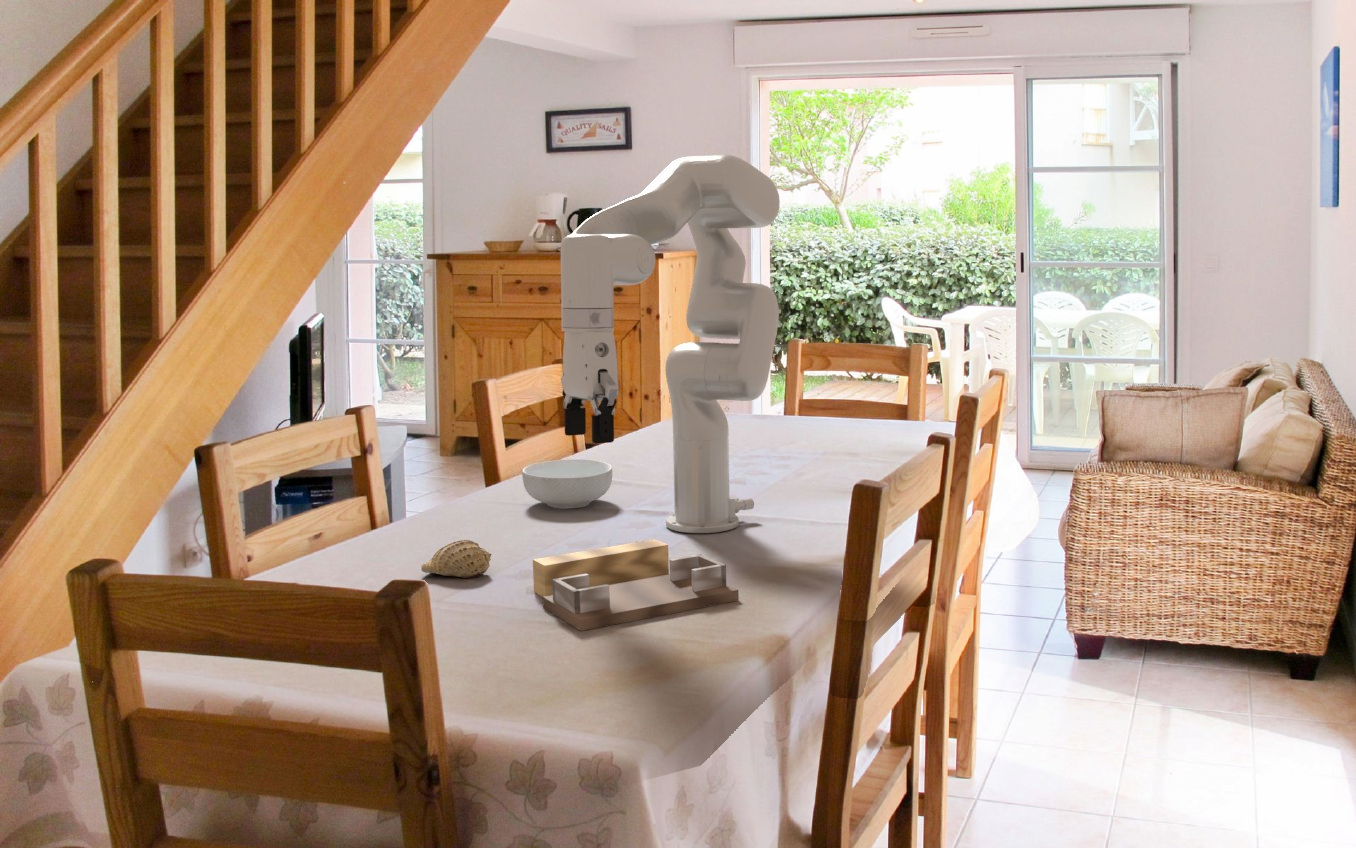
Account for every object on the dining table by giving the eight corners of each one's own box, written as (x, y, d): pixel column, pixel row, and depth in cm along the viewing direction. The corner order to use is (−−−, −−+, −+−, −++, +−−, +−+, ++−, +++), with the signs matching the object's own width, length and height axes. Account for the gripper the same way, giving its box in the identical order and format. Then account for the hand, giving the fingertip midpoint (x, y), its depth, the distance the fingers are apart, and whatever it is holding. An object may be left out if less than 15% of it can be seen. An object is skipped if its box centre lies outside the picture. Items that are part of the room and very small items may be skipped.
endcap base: (694, 580, 182) (693, 550, 181) (738, 600, 172) (738, 568, 171) (543, 607, 170) (541, 575, 170) (580, 631, 160) (579, 597, 159)
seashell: (441, 604, 183) (500, 568, 186) (421, 570, 181) (482, 534, 184) (432, 590, 190) (489, 556, 193) (413, 557, 189) (471, 523, 191)
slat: (655, 571, 188) (654, 539, 187) (668, 577, 185) (668, 544, 184) (534, 593, 178) (532, 559, 177) (545, 600, 175) (544, 565, 174)
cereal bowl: (504, 506, 233) (503, 469, 232) (568, 491, 246) (566, 455, 245) (569, 518, 222) (567, 479, 221) (631, 502, 235) (630, 465, 234)
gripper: (637, 322, 174) (638, 444, 176) (586, 318, 189) (587, 430, 191) (588, 323, 170) (589, 447, 172) (540, 319, 185) (542, 433, 187)
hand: (588, 438), depth 182 cm, fingers open, 9 cm apart
